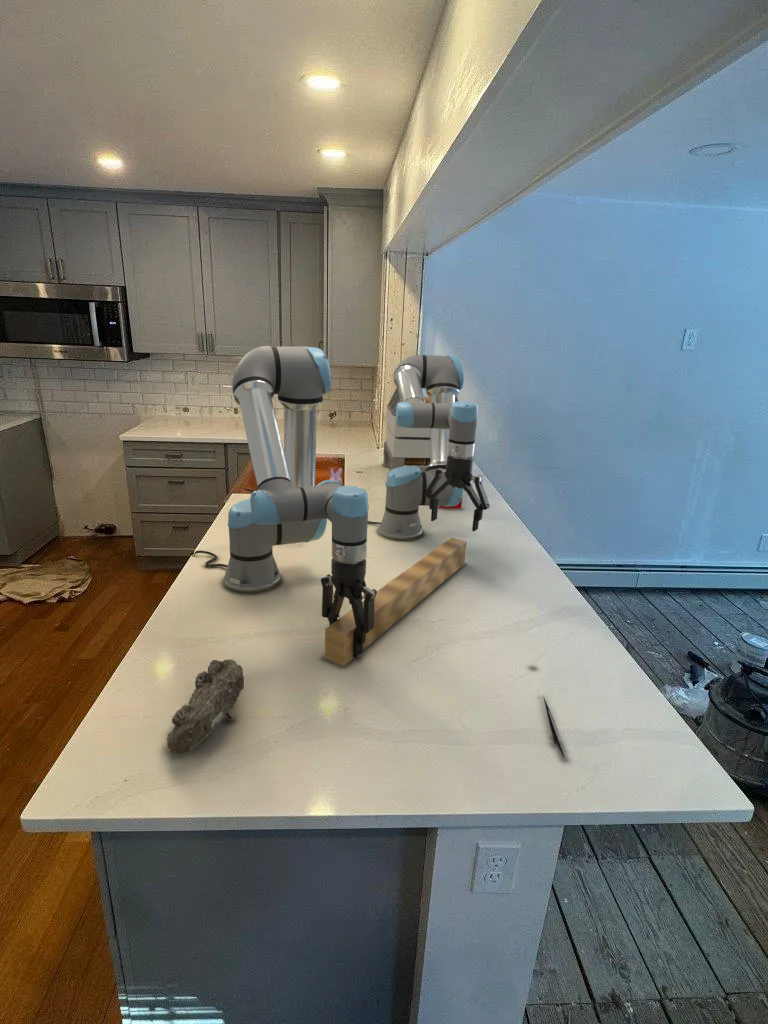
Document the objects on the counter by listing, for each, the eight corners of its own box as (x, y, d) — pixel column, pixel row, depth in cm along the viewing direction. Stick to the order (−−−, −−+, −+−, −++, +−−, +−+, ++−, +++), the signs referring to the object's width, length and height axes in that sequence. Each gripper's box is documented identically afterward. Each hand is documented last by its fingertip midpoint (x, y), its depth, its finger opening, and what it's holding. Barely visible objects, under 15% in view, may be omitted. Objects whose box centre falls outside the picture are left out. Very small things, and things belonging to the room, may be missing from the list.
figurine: (332, 510, 220) (332, 472, 215) (322, 501, 228) (322, 465, 223) (354, 507, 224) (355, 470, 219) (343, 499, 232) (344, 463, 227)
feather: (533, 672, 128) (539, 666, 127) (564, 762, 101) (571, 754, 101) (527, 668, 128) (533, 662, 127) (556, 757, 101) (563, 750, 100)
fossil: (192, 660, 117) (244, 628, 112) (224, 691, 120) (276, 661, 115) (142, 746, 98) (202, 712, 93) (182, 779, 101) (242, 748, 96)
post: (449, 559, 181) (451, 537, 178) (464, 563, 179) (466, 541, 176) (324, 658, 128) (325, 628, 125) (343, 666, 125) (344, 636, 122)
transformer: (382, 463, 289) (386, 382, 275) (445, 464, 293) (451, 384, 279) (390, 482, 257) (394, 392, 243) (460, 483, 261) (468, 394, 247)
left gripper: (304, 553, 124) (305, 645, 132) (375, 575, 115) (371, 672, 123) (325, 542, 130) (324, 630, 138) (394, 562, 121) (389, 655, 129)
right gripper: (416, 451, 167) (411, 519, 174) (496, 466, 155) (488, 538, 162) (427, 447, 173) (423, 512, 180) (506, 461, 161) (497, 530, 168)
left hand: (346, 650), depth 130 cm, fingers closed on post, 5 cm apart
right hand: (454, 524), depth 171 cm, fingers open, 13 cm apart
